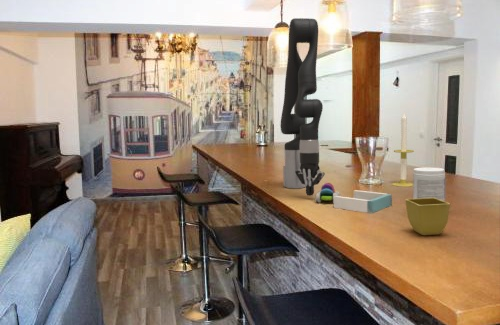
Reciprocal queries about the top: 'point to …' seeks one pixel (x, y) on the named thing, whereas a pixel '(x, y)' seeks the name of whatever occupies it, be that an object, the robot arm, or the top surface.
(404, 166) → the candle
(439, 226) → the flower pot
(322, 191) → the multicoloured petal flower toy
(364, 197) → the bay
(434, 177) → the supplement tub
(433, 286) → the top surface
